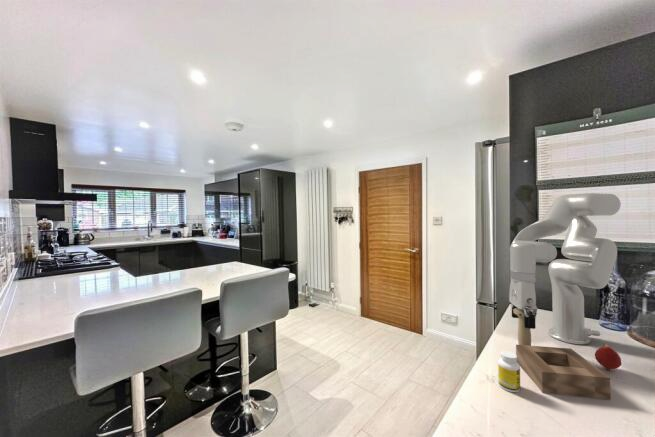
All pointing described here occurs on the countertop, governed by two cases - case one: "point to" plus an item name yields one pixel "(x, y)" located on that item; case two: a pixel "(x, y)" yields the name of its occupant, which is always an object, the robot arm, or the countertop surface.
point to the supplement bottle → (509, 372)
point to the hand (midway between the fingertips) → (522, 322)
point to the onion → (608, 358)
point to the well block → (562, 372)
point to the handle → (522, 328)
